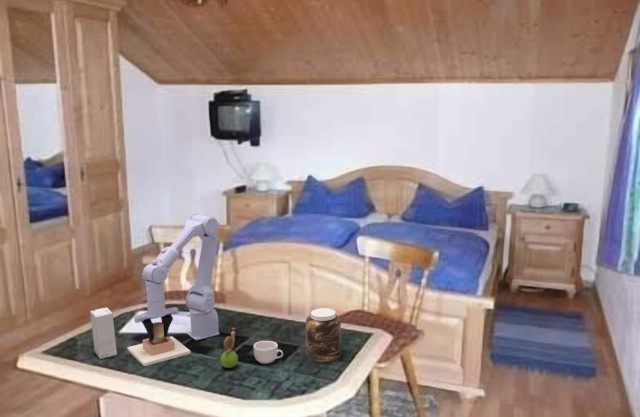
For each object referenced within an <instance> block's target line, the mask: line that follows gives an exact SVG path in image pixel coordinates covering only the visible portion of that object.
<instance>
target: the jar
mask: <svg viewBox="0 0 640 417" xmlns="http://www.w3.org/2000/svg"><path fill="white" fill-rule="evenodd" d="M341 321H342V320H341V318H340V316H339V315H337V312H336V310H334V309H333V308H329V307H328V308H327V307H321V308H320V307H319V308H316V309H313V310H311V311H310V315H309V316H307V317H306V320H305V356H306V358H307V360H308V361H309V360H310V361H311V362H315V363H331V362H334V361H336V359H337V360H339V359H340V358H341V356H342V322H341ZM330 361H331V362H330Z"/></svg>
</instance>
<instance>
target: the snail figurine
mask: <svg viewBox="0 0 640 417" xmlns="http://www.w3.org/2000/svg"><path fill="white" fill-rule="evenodd" d="M231 330H232V331H231V332H230V335H229V336H226V337H225V338H224V339H223V349H224V352H223V353H222V354H221V356H220V363H221V365H222V366H223V367H224V368H226V369H232V368H234V367H236V365H237V364H238V360H239V357H238V354H237V353H236V352H235V351H234V350H233V349H234V345H235V340H236V339H235V338H236V337H235V335H236V331H235V330H236V328H235V327H231Z"/></svg>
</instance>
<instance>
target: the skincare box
mask: <svg viewBox="0 0 640 417" xmlns="http://www.w3.org/2000/svg"><path fill="white" fill-rule="evenodd" d="M89 312H90V320H91V330H92V331H91V332H92V339H93V348H94V349H93V350H94V353H95V354H96V356H98V358H99V359H100V360H101V359H104V358H109V357H115V356H117V355H118V353H117V341H116V334H115V333H116V332H115V325H114V324H115V323H114V314H113V312H112V311H111V310H110V309H109V307H101V308H97V309H94V310H90V311H89Z"/></svg>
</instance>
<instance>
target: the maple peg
mask: <svg viewBox="0 0 640 417" xmlns="http://www.w3.org/2000/svg"><path fill="white" fill-rule="evenodd" d="M152 323H153V341H152V345H157V344H161V343H165V341H164V324H163V323H162V321H157V322H152Z"/></svg>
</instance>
